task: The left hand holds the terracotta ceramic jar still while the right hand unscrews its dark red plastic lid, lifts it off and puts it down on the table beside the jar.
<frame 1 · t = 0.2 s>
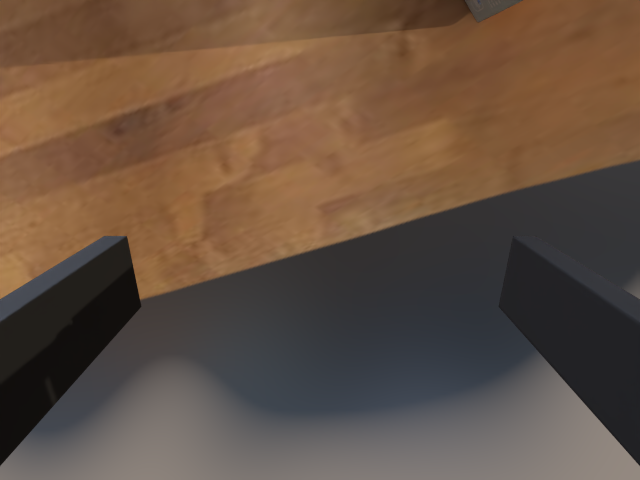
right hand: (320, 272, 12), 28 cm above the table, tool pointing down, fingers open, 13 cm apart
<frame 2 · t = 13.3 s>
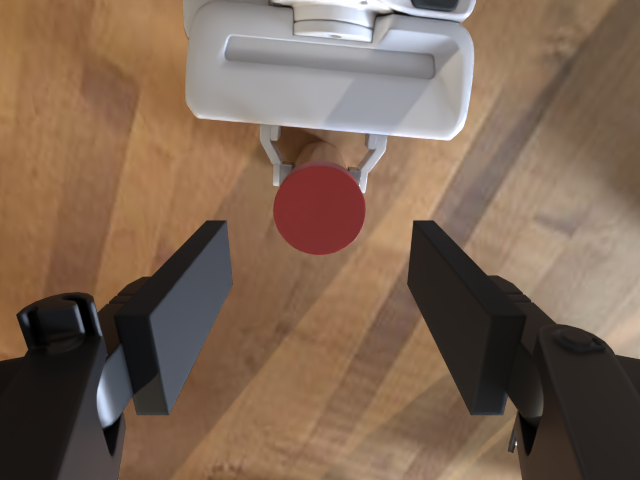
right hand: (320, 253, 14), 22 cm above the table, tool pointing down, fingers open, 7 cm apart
left hand: (319, 188, 29), fingers closed on jar, 4 cm apart
lid: (319, 210, 20), point 16 cm above the table, screwed on, not yet turned
jar: (319, 165, 34), on the table, touching left hand
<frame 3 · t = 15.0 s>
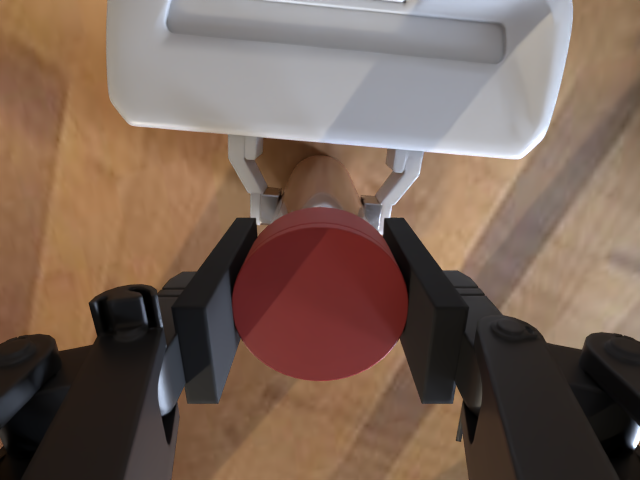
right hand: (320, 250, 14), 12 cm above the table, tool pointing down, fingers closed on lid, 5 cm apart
left hand: (319, 226, 20), fingers closed on jar, 4 cm apart
lid: (320, 304, 10), point 16 cm above the table, screwed on, not yet turned, touching right hand
jar: (320, 187, 25), on the table, touching left hand
when the right hand's fingers open (12 cm above the table, at t = 16.4 s): lid stays where it is, point 16 cm above the table.
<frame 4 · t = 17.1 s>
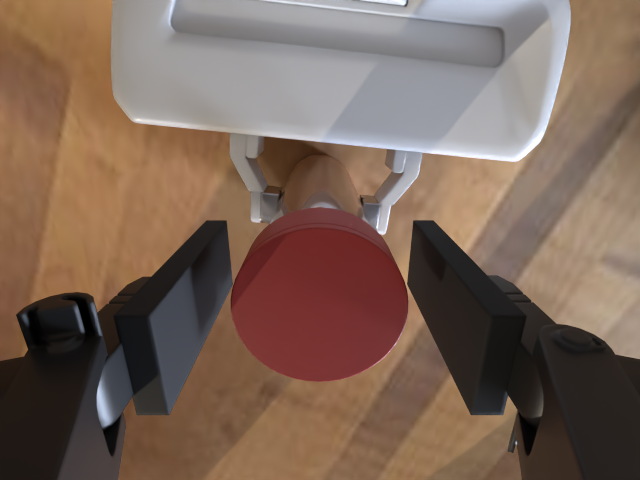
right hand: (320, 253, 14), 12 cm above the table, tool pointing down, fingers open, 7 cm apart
left hand: (318, 225, 20), fingers closed on jar, 4 cm apart
lid: (319, 305, 10), point 16 cm above the table, turned 71° so far, risen 0.3 cm, still on its thread
jar: (319, 186, 25), on the table, touching left hand
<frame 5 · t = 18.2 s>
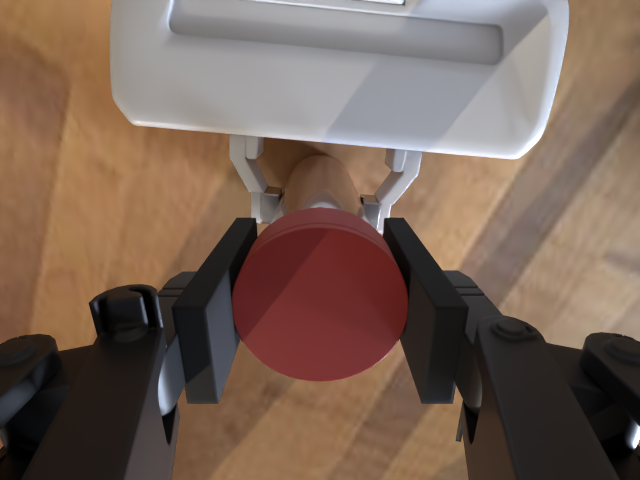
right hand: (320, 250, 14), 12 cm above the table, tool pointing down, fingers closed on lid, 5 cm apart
left hand: (319, 225, 20), fingers closed on jar, 4 cm apart
lid: (320, 305, 10), point 16 cm above the table, turned 71° so far, risen 0.2 cm, still on its thread, touching right hand
jar: (320, 186, 25), on the table, touching left hand
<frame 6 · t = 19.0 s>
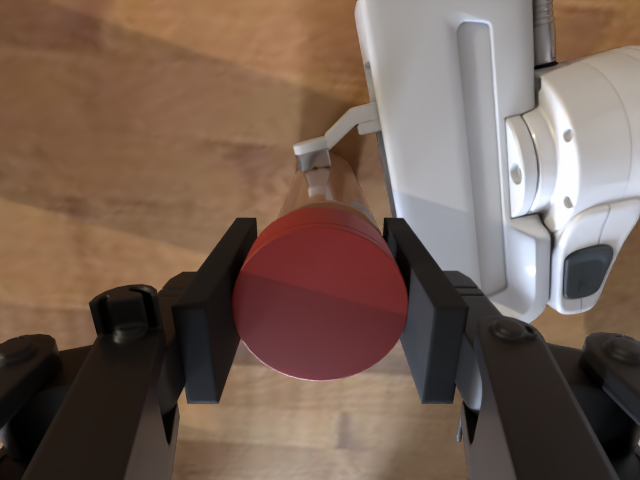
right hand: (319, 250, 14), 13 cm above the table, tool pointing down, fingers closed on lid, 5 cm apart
lid: (320, 304, 10), point 17 cm above the table, off its thread, touching right hand
jar: (324, 182, 26), on the table, touching right hand, left hand
when the right hand's fingers open (0 cm above the table, at t = 24.0 s): lid drops 2 cm, point 2 cm above the table.
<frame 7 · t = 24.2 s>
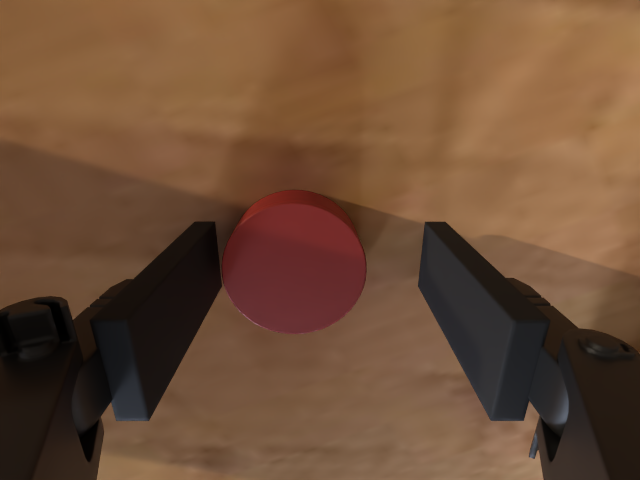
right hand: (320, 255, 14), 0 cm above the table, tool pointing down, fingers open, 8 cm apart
lid: (294, 269, 13), point 2 cm above the table, off its thread
when the left hand's fingers open (6 cm above the table, at t = 25.1 s): jar stays where it is, on the table.
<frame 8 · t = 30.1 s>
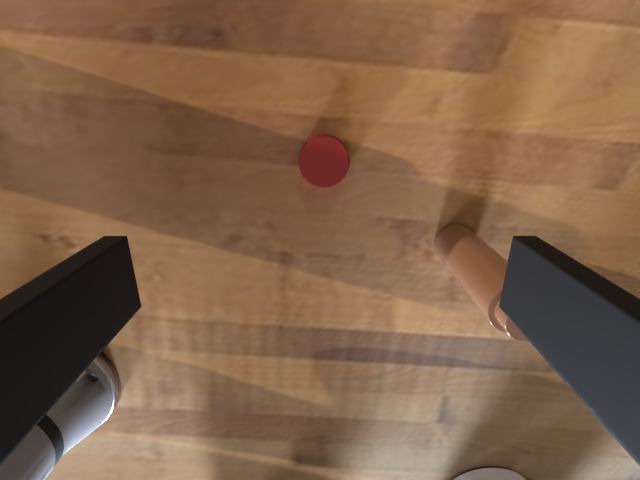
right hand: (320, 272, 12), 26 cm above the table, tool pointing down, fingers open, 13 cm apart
lid: (323, 161, 35), point 2 cm above the table, off its thread
jar: (453, 243, 40), on the table
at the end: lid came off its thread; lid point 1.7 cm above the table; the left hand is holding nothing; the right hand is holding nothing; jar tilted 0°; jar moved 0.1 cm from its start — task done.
